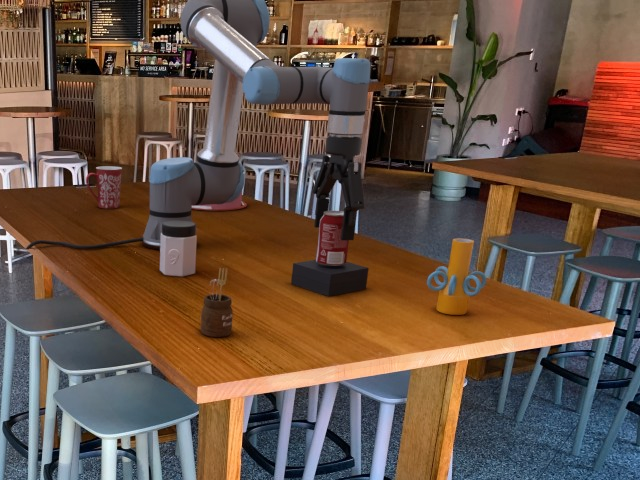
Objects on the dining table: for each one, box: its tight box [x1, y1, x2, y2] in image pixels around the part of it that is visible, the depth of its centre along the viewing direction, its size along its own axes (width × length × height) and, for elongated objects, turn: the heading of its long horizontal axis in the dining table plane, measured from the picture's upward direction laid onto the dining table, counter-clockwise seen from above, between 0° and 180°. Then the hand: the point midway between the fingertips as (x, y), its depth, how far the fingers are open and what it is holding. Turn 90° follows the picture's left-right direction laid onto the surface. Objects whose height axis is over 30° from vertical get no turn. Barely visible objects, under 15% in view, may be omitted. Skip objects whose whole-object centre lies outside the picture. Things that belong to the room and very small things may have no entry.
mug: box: [85, 165, 123, 210], centre depth 275 cm, size 13×9×14 cm
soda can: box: [315, 210, 350, 268], centre depth 179 cm, size 7×7×12 cm
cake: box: [191, 191, 248, 212], centre depth 282 cm, size 25×25×11 cm
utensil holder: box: [200, 267, 234, 338], centre depth 149 cm, size 6×6×12 cm
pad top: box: [291, 259, 369, 285], centre depth 182 cm, size 12×12×2 cm
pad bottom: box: [290, 273, 368, 297], centre depth 183 cm, size 12×12×2 cm
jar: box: [159, 220, 198, 278], centre depth 192 cm, size 9×8×12 cm
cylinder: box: [426, 237, 487, 316], centre depth 163 cm, size 12×10×15 cm
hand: (333, 233), depth 179 cm, fingers open, 13 cm apart
